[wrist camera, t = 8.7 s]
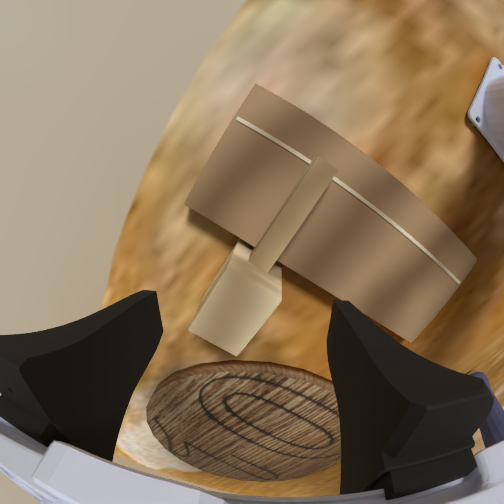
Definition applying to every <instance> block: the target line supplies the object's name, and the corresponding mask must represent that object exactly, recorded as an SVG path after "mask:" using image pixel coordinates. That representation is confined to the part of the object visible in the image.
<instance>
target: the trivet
mask: <svg viewBox="0 0 504 504" xmlns="http://www.w3.org/2000/svg"><path fill="white" fill-rule="evenodd" d="M147 423H148V425H149V427H150V429H151V431H152V433H153V435H154V436H155V438H156V439H157V440H158V441H159V442H160V443H161V444H162V445H163V446H164V448H165V449H167V450H168V451H169V452H171V453H172V454H173V455H175V456H176V457H178V458H179V459H180V460H182V461H184V462H186V463H188V464H190V465H192V466H194V467H196V468H198V469H201V470H203V471H206V472H209V473H212V474H215V475H218V476H222V477H227V478H232V479H237V480H245V481H260V482H267V481H283V480H290V479H295V478H300V477H305V476H308V475H311V474H314V473H317V472H319V471H322V470H325V469H327V468H328V467H330V466H332V465H334V464H335V463H337V462H339V461H340V460H341V436H340V420H339V411H338V405H337V400H336V395H335V391H334V386H333V382H332V381H331V380H329V379H326V378H324V377H321V376H319V375H316V374H314V373H312V372H309V371H307V370H305V369H300V368H295V367H291V366H286V365H281V364H277V363H272V362H259V361H241V360H229V361H220V362H211V363H201V364H198V365H195V366H192V367H189V368H186V369H183V370H180V371H177V372H174V373H173V374H172V375H170V376H169V377H167V378H166V379H165V380H163V381H162V382H161V383H159V384H158V386H157V388H156V390H155V391H154V393H153V395H152V397H151V399H150V401H149V403H148V405H147Z"/></svg>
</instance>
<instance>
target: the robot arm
mask: <svg viewBox="0 0 504 504" xmlns="http://www.w3.org/2000/svg"><path fill="white" fill-rule="evenodd" d="M467 114H468V118H469V119H470V121H471V122H472V123H473V124H474V125H475V126H476V128H477V129H478V130H479V131H480V132H481V134H482V135H483V136H484V137H485V139H486V140H487V141H488V142H489V144H490V145H491V146H492V148H493V149H494V150H495V152H496V153H497V154H498V156H499V157H500V158H501V160H502V161H503V163H504V66H503V65H502V64H501V63H500V61H499V60H498V59H497V58H495V57H493V58H491V60H490V62H489V65H488V67H487V70H486V72H485V75H484V77H483V79H482V82H481V84H480V86H479V88H478V91H477V93H476V95H475V97H474V99H473V101H472V104H471V106H470V108H469V110H468V113H467ZM476 118H477V120H478V121H476ZM162 333H163V327H162V321H161V316H160V310H159V305H158V299H157V293H156V291H149V290H142V291H139V292H137V293H135V294H132V295H130V296H128V297H126V298H124V299H122V300H120V301H118V302H116V303H114V304H112V305H110V306H108V307H106V308H104V309H102V310H100V311H98V312H96V313H94V314H92V315H89V316H87V317H85V318H82V319H80V320H77V321H74V322H71V323H69V324H66V325H63V326H59V327H55V328H52V329H47V330H43V331H38V332H32V333H26V334H15V335H0V393H1V394H2V395H1V396H0V471H1V472H2V473H4V474H5V475H6V476H7V477H8V478H10V479H11V480H12V481H13V482H15V483H16V484H17V485H18V486H20V487H21V488H22V489H24V490H25V491H26V492H28V493H29V494H31V495H32V496H33V497H35V498H36V499H38V500H39V501H41V502H40V504H504V441H500V442H498V443H496V444H494V445H492V446H490V447H487V448H485V449H483V450H481V451H479V452H478V453H476V454H475V455H473V453H472V450H471V448H473V447H474V446H475V442H474V440H473V437H472V436H473V435H474V433H475V432H476V431H477V430H478V428H479V427H480V426H481V425H482V423H483V422H484V421H485V419H486V418H487V417H488V415H489V413H490V412H491V409H492V407H493V404H494V397H493V395H492V393H491V392H490V390H489V388H488V387H487V385H486V383H485V382H484V380H483V379H482V378H478V377H474V376H470V375H467V374H463V373H459V372H456V371H453V370H451V369H448V368H445V367H443V366H440V365H438V364H436V363H433V362H431V361H429V360H427V359H425V358H423V357H421V356H419V355H418V354H416V353H414V352H412V351H411V350H409V349H408V348H406V347H404V346H403V345H401V344H400V343H398V342H397V341H395V340H394V339H393V338H391V337H390V336H389V335H387V334H386V333H385V332H384V331H382V330H381V329H380V328H379V327H377V326H376V325H375V324H374V323H373V322H372V321H371V320H369V319H368V318H367V317H366V316H365V315H364V314H363V313H362V312H361V311H360V310H359V309H357V308H356V307H355V306H354V305H353V304H352V303H351V302H349V301H345V300H333V306H332V313H331V319H330V325H329V330H328V336H327V354H328V363H329V368H330V372H331V377H332V381H333V386H334V391H335V395H336V400H337V405H338V411H339V420H340V436H341V487H340V495H333V496H319V497H262V496H248V495H237V494H228V493H220V492H214V491H207V490H204V489H202V488H199V487H195V486H192V485H188V484H185V483H181V482H178V481H174V480H171V479H166V478H162V477H158V476H154V475H151V474H148V473H144V472H141V471H138V470H134V469H131V468H128V467H125V466H122V465H119V464H117V463H114V462H112V460H113V455H114V450H115V446H116V442H117V438H118V434H119V431H120V427H121V424H122V421H123V418H124V415H125V412H126V409H127V407H128V404H129V401H130V399H131V396H132V394H133V392H134V390H135V388H136V386H137V384H138V382H139V380H140V378H141V377H142V375H143V373H144V371H145V369H146V368H147V366H148V364H149V362H150V360H151V359H152V357H153V355H154V353H155V351H156V349H157V347H158V344H159V342H160V339H161V336H162Z"/></svg>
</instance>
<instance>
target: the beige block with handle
mask: <svg viewBox="0 0 504 504" xmlns="http://www.w3.org/2000/svg"><path fill="white" fill-rule="evenodd" d="M337 171H338V170H337V169H336V168H334V167H333V166H332V165H330V164H329V163H327V162H326V161H324V160H323V159H321V158H320V157H318V156H315V157H314V158H313V160H312V161H311V163H310V164H309V166H308V167H307V169H306V170H305V172H304V173H303V175H302V176H301V178H300V179H299V181H298V183H297V184H296V186H295V187H294V189H293V190H292V192H291V193H290V195H289V196H288V198H287V199H286V201H285V202H284V204H283V205H282V207H281V208H280V210H279V211H278V213H277V214H276V216H275V217H274V219H273V220H272V222H271V224H270V225H269V227H268V228H267V230H266V231H265V233H264V234H263V236H262V237H261V239H260V240H259V242H258V243H257V245H256V246H255V247H254V246H252V245H251V244H249V243H247V242H246V241H244V240H242V239H241V238H239V240H238V241H237V243H236V245H235V246H234V248H233V249H232V251H231V253H230V254H229V256H228V257H227V259H226V261H225V262H224V264H223V265H222V267H221V269H220V270H219V272H218V274H217V275H216V277H215V278H214V280H213V282H212V283H211V285H210V286H209V288H208V290H207V292H206V294H205V296H204V298H203V300H202V302H201V304H200V306H199V308H198V310H197V312H196V314H195V317H194V319H193V321H192V323H191V325H190V327H189V329H188V330H189V331H191V332H192V333H194V334H196V335H198V336H199V337H201V338H203V339H205V340H207V341H208V342H210V343H212V344H214V345H216V346H218V347H220V348H221V349H223V350H225V351H227V352H229V353H231V354H233V355H235V356H238V355H239V353H240V352H241V351H242V350H243V349H244V347H245V346H246V345H247V344H248V342H249V341H250V340H251V339H252V338H253V336H254V335H255V334H256V333H257V331H258V330H259V329H260V328H261V326H262V325H263V324H264V323H265V321H266V320H267V319H268V318H269V316H270V315H271V314H272V313H273V311H274V310H275V309H276V308H277V306H278V305H279V304H280V302H281V301H282V263H280V262H279V261H277V259H278V258H279V256H280V255H281V253H282V252H283V250H284V249H285V248H286V246H287V245H288V243H289V242H290V240H291V239H292V238H293V236H294V235H295V233H296V232H297V230H298V229H299V227H300V226H301V224H302V223H303V222H304V220H305V219H306V217H307V216H308V214H309V213H310V211H311V210H312V208H313V207H314V205H315V204H316V203H317V201H318V200H319V198H320V197H321V195H322V194H323V192H324V191H325V189H326V188H327V186H328V185H329V183H330V182H331V180H332V179H333V177H334V176H335V174H336V173H337Z"/></svg>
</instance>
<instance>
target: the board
mask: <svg viewBox="0 0 504 504" xmlns="http://www.w3.org/2000/svg"><path fill="white" fill-rule="evenodd" d="M315 156H318V157H320V158H321V159H323V160H324V161H326V162H327V163H329V164H330V165H332V166H333V167H334V168H336V169H337V170H338V171H337V173H336V174H335V176H334V177H333V179H332V180H331V182H330V183H329V185H328V186H327V188H326V189H325V191H324V192H323V194H322V195H321V197H320V198H319V200H318V201H317V203H316V204H315V205H314V207H313V208H312V210H311V211H310V213H309V214H308V216H307V217H306V219H305V220H304V222H303V223H302V224H301V226H300V227H299V229H298V230H297V232H296V233H295V235H294V236H293V238H292V239H291V240H290V242H289V243H288V245H287V246H286V248H285V249H284V250H283V252H282V253H281V255H280V256H279V258H278V259H277V261H279V262H280V263H282V264H283V265H285V266H287V267H288V268H290V269H292V270H293V271H295V272H297V273H298V274H300V275H301V276H303V277H305V278H306V279H308V280H310V281H311V282H313V283H315V284H316V285H318V286H319V287H321V288H323V289H324V290H326V291H328V292H329V293H331V294H332V295H334V296H336V297H337V298H339V299H341V300H345V301H349V302H351V303H352V304H353V305H354V306H355V307H356V308H357V309H359V310H360V311H361V312H362V313H363V314H365V315H367V316H368V317H370V318H372V319H373V320H375V321H376V322H378V323H380V324H381V325H383V326H384V327H386V328H388V329H389V330H391V331H393V332H394V333H396V334H397V335H399V336H401V337H402V338H404V339H405V340H407V341H409V342H410V343H412V342H413V341H414V340H415V339H416V338H417V337H418V335H419V334H420V333H421V332H422V331H423V330H424V329H425V328H426V327H427V325H428V324H429V323H430V322H431V321H432V320H433V318H434V317H435V316H436V315H437V314H438V313H439V311H440V310H441V309H442V308H443V306H444V305H445V304H446V303H447V301H448V300H449V299H450V298H451V296H452V295H453V294H454V293H455V291H456V290H457V289H458V287H459V286H460V285H461V283H462V282H463V280H464V279H465V278H466V276H467V275H468V273H469V272H470V271H471V269H472V268H473V266H474V265H475V263H476V262H477V260H478V259H477V258H476V257H475V256H474V255H473V253H472V252H471V251H470V250H469V249H468V248H467V247H466V246H465V244H464V243H463V242H462V241H461V240H460V239H459V238H458V237H457V236H456V235H455V234H454V233H453V232H452V231H451V230H450V228H449V227H448V226H447V225H446V224H445V223H444V222H443V221H442V220H441V219H440V218H439V217H438V216H437V215H436V214H435V213H434V212H433V211H431V210H430V209H429V208H428V207H427V206H426V205H425V204H424V203H423V202H422V201H421V200H420V199H419V198H418V197H417V196H415V195H414V194H413V193H412V192H411V191H410V190H409V189H408V188H406V187H405V186H404V185H403V184H402V183H401V182H400V181H398V180H397V179H396V178H395V177H394V176H392V175H391V174H390V173H389V172H388V171H386V170H385V169H384V168H383V167H382V166H380V165H379V164H378V163H376V162H375V161H374V160H373V159H371V158H370V157H369V156H368V155H366V154H365V153H364V152H362V151H361V150H360V149H358V148H357V147H356V146H354V145H353V144H351V143H350V142H349V141H347V140H346V139H345V138H343V137H342V136H340V135H339V134H337V133H336V132H335V131H333V130H332V129H330V128H329V127H327V126H326V125H324V124H323V123H321V122H320V121H318V120H317V119H315V118H314V117H312V116H310V115H309V114H307V113H306V112H304V111H302V110H301V109H299V108H298V107H296V106H294V105H293V104H291V103H289V102H288V101H286V100H284V99H282V98H281V97H279V96H277V95H275V94H274V93H272V92H270V91H268V90H266V89H265V88H263V87H261V86H259V85H257V84H255V85H254V87H253V88H252V90H251V91H250V93H249V94H248V96H247V97H246V99H245V100H244V102H243V103H242V105H241V107H240V108H239V110H238V111H237V113H236V114H235V116H234V118H233V119H232V121H231V122H230V124H229V126H228V127H227V129H226V131H225V132H224V134H223V136H222V137H221V139H220V141H219V142H218V144H217V146H216V147H215V149H214V151H213V152H212V154H211V156H210V158H209V159H208V161H207V163H206V165H205V166H204V168H203V170H202V172H201V173H200V175H199V177H198V179H197V181H196V182H195V184H194V186H193V188H192V190H191V192H190V194H189V195H188V197H187V199H186V201H185V203H184V205H186V206H188V207H189V208H191V209H193V210H194V211H196V212H198V213H199V214H201V215H203V216H204V217H206V218H208V219H209V220H211V221H213V222H214V223H216V224H217V225H219V226H221V227H222V228H224V229H226V230H227V231H229V232H231V233H232V234H234V235H236V236H237V237H239V238H241V239H242V240H244V241H246V242H247V243H249V244H251V245H252V246H254V247H255V246H256V245H257V243H258V242H259V240H260V239H261V237H262V236H263V234H264V233H265V231H266V230H267V228H268V227H269V225H270V224H271V222H272V220H273V219H274V217H275V216H276V214H277V213H278V211H279V210H280V208H281V207H282V205H283V204H284V202H285V201H286V199H287V198H288V196H289V195H290V193H291V192H292V190H293V189H294V187H295V186H296V184H297V183H298V181H299V179H300V178H301V176H302V175H303V173H304V172H305V170H306V169H307V167H308V166H309V164H310V163H311V161H312V160H313V158H314V157H315Z"/></svg>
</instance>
